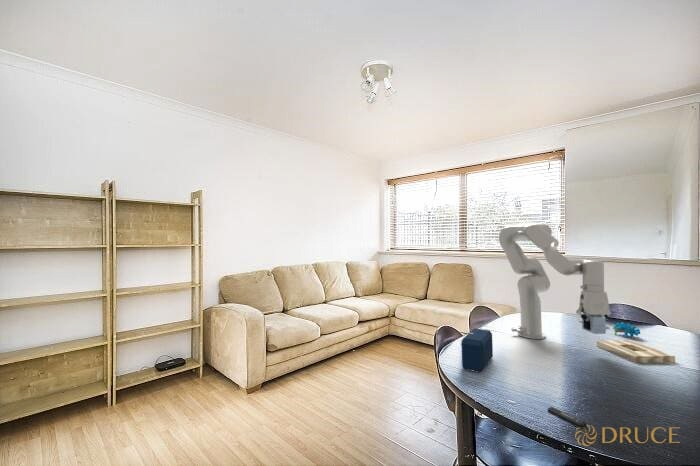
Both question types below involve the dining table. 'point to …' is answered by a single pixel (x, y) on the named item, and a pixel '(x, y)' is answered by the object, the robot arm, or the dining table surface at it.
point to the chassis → (635, 351)
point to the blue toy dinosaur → (626, 329)
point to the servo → (596, 324)
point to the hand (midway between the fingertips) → (593, 328)
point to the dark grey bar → (567, 417)
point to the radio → (477, 350)
